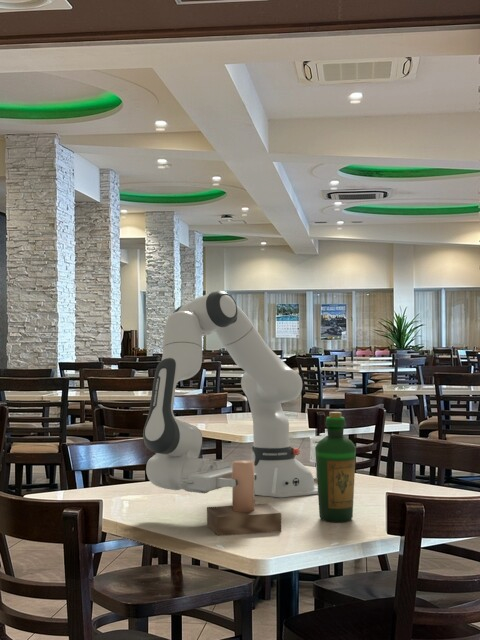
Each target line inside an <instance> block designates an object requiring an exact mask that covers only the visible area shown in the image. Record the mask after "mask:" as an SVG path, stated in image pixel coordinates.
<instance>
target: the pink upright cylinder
mask: <svg viewBox="0 0 480 640" xmlns="http://www.w3.org/2000/svg"><path fill="white" fill-rule="evenodd" d="M231 463H232V479H237V480H238V485H237V486H235V487H231V488H232V491H231V492H232V493H231V494H232V500H231V501H232V505H231V506H232V509H233V511H235V512H252V511H254V504H255V494H254V461H252V460H245V459H244V460H242V459H241V460H233V461H232V462H231Z"/></svg>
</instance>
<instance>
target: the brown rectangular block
mask: <svg viewBox="0 0 480 640" xmlns="http://www.w3.org/2000/svg"><path fill="white" fill-rule="evenodd" d="M206 526H208V527H209V529H211V531H213V532H214V533H215V535H217V536H231V535H232V536H235V535H245V534H246V535H248V534H249V535H250V534H259V533H261V534H263V533H277V532H282V512H280V511H279V510H278V509H276V508H274V507H273V506H271V505H270V504H268V503H258V504H257V503H256V504H255V503H254V511H252V512H235V511H233V509H232V505H221V506H220V505H219V506H218V505H217V506H207V507H206Z"/></svg>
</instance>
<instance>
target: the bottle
mask: <svg viewBox="0 0 480 640" xmlns="http://www.w3.org/2000/svg"><path fill="white" fill-rule="evenodd" d="M342 414H343V413H342V412H341V411H329V416H326V419H325V423H324V424H325V425H324V426H325V427H326V428H327V429H326V430H327V435H326V437H324V438H323V439H322V440H320V441H319V442H317V443H318V444H317V445H316V447H315V451H316V463H315V468H316V467H317V478H316V483H317V486H318V494H317V495H318V512H319V514H318V515H319V518H320V519H321V520H323V521H325V522H329V523H345V522H349V521H351V520H352V519H353V518H354V517H353V515H354V496H355V495H354V493H355V474H356V473H355V471H356V453H357V446H356V445H355V444H354V442H353V441H352V440H351V439H349V438H348V437H346V436H344V429H345V427H347V424H346V420H345V416H342Z"/></svg>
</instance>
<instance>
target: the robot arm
mask: <svg viewBox="0 0 480 640" xmlns="http://www.w3.org/2000/svg"><path fill="white" fill-rule="evenodd" d="M214 332H215V333H216V335H217V337H218V339H219V341H220V343H221V344H222V345H223V347H224V348H225V350H226V351H227V352H228V354H229V355H230V358H231V359H232V360H233V361H234V363H235V364H236V366H237V367H239V368H241V369H242V370H243V371H245V372H244V373H243V375H242V376H241V380H240V385H241V389H242V391H243V393H244V394H245V395H246V398H247V401H248V404H249V408H250V412H251V418H252V426H253V427H252V428H253V429H252V430H253V434H252V435H253V436H252V437H253V446H252V447H251V461H254V496H255V495H257V496H264V497H272V498H274V497H275V498H287V497H289V498H290V497H299V496H308V495H318V485H315V479H314V475H313V473H312V471H311V470H310V468H308V467H306V466H305V465H304V464H303V463H302V462H300V460H298V459H297V458H295V457H296V456H300V454H301V450H300V449H299V448H297V447H293V446H291V445H290V421H289V419H288V418H287V416H286V414H285V412H284V410H283V407H282V404H283V403H288V402H292V401H295V400H296V399H297V398H299V396H301V393H302V390H303V380H302V377H301V376H300V374H299V372H298V371H295V370H294V369H292V368H291V367H290V366H288V365H287V364H286V363H285V361H284V360H282V358H280V357H279V356H278V355H277V354H276V353H275V352H274V351H273V349H271V348H270V347H269V345H268V344H267V342H265V340H264V339H263V337H262V336H261V334H260V333H259V331H258V330H257V328H256V326H255V325H254V324H253V322H252V320H250V318H249V317H248V316H247V314H246V313H245V312H244V311H243V310H242V308H241V307H240V306H239V305H238V304H237V302H236V301H235V298H234V297H233V296H232V295H231V294H230V293H228V292H226V291H224V290H217V291H211V292H210V293H207V294H204V295H201V296H198V297H196V298H194V299H193V300H191V301H189V302H187V303H185V304H182V305H180V306H179V307H178V308H176V309H175V310H174V311H173V312H172V313H171V314H170V315H169V316H168V317H167V319H166V323H165V328H164V332H163V340H162V357H161V360H160V361H159V363H158V364H157V366H156V367H155V368H156V369H155V373H154V377H153V383H152V390H151V397H150V404H149V410H148V415H147V418H146V421H145V423H144V427H143V431H142V432H143V433H142V438H143V442H144V445H145V447H146V448H147V449H148V450H149V451H150V452H151V453H155V454H154V455H152V457H150V458H149V459H148V460H147V463H146V468H145V473H146V475H147V479H148V480H149V482H150V483H151V484H153V485H154V486H156V487H158V488H161V489H166V490H171V491H172V490H173V491H180V490H183V491H185V492H191V493H198V494H207V493H209V492H211V491H215V490H219V489H222V488H232V487H235V486H237V485H238V480H237V479H232V462H224V461H225V460H223V459H217V458H216V459H209V458H199V457H200V454H201V452H202V446H203V435H202V431H201V430H200V429H199V428H198V427H197V426H195V425H193V424H191V423H189V422H186V421H182V420H180V419H177V418H176V416H175V415H174V405H175V394H176V388H177V384H178V383H179V382H180V381H184V380H188V379H191V378H193V377H194V376H196V375H197V374H198V373H199V371H200V370H201V367H202V363H203V337H204V336H207V335H210V334H212V333H214Z"/></svg>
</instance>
